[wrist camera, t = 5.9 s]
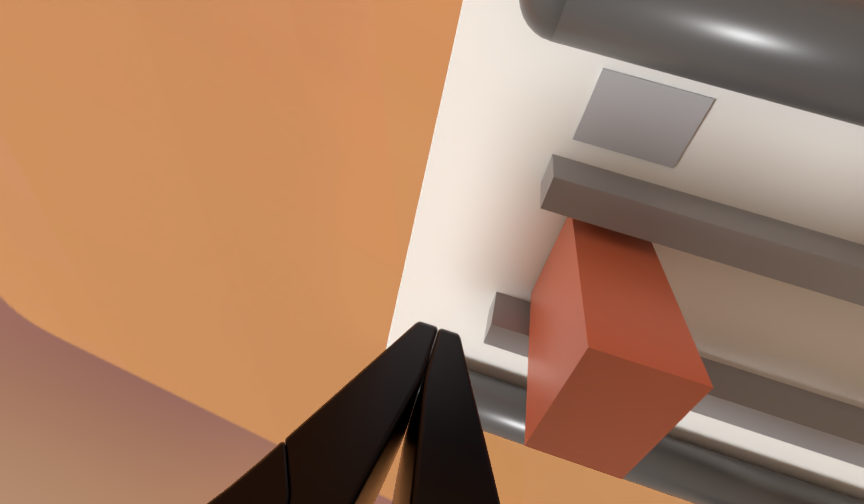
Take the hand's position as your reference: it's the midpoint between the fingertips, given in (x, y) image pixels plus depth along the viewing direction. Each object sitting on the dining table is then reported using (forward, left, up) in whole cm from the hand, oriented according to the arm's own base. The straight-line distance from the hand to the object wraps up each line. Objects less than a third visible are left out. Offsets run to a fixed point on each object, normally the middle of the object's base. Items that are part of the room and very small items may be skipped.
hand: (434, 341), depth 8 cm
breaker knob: (-3, 0, -5) cm, 6 cm away
